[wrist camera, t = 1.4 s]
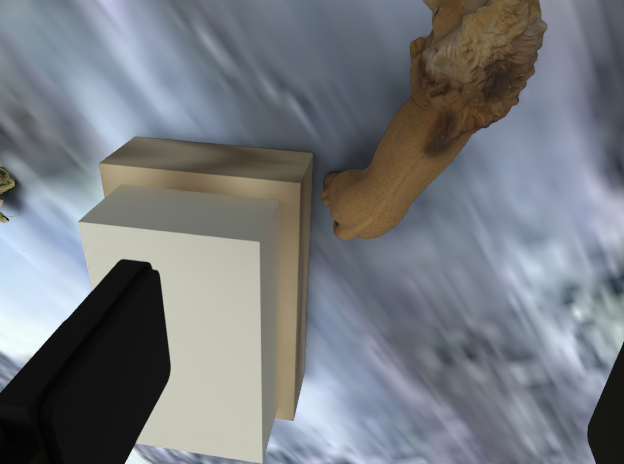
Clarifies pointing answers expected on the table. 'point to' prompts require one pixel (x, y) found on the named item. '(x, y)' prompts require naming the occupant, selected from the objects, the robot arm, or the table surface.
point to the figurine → (3, 179)
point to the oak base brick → (247, 183)
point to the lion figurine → (440, 108)
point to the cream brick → (203, 309)
